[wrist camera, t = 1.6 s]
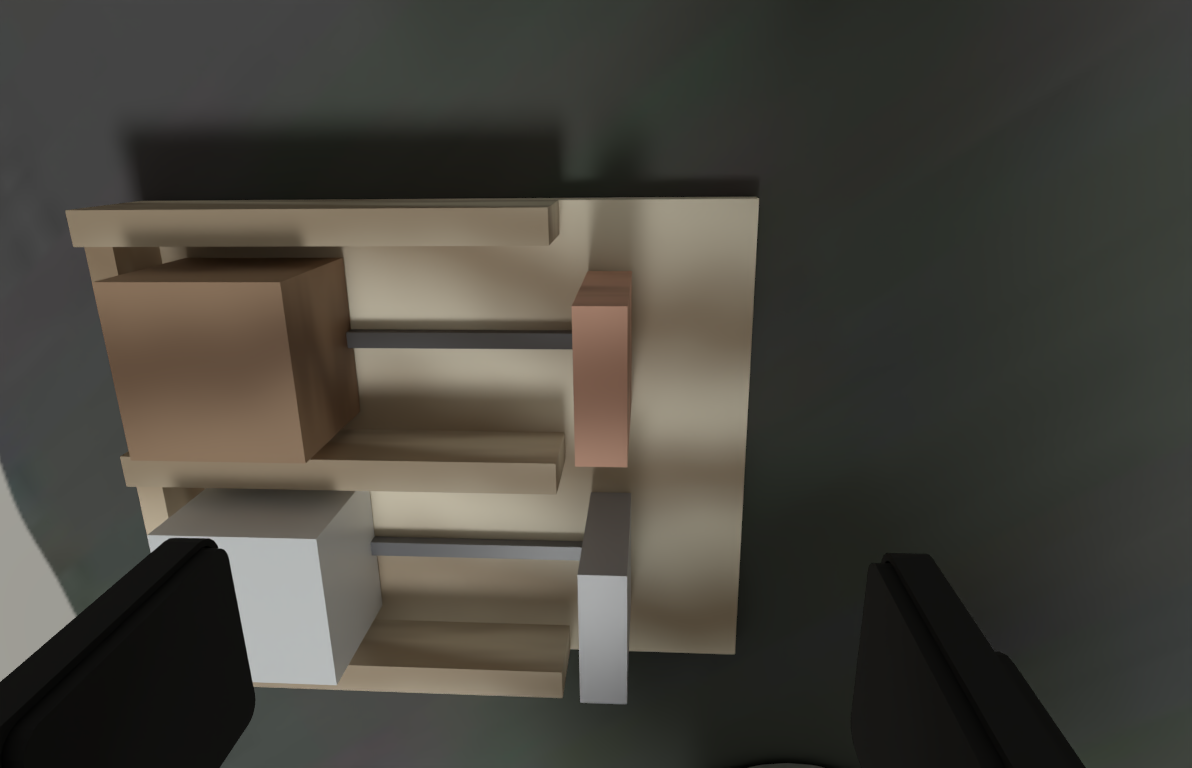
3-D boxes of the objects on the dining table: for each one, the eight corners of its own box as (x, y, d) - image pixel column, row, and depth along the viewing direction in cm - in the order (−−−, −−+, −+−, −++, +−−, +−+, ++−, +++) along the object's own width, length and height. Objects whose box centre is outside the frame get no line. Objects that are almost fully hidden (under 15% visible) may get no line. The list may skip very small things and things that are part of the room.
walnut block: (631, 414, 29) (627, 482, 23) (212, 409, 30) (110, 473, 24) (632, 257, 27) (627, 288, 21) (185, 258, 28) (68, 288, 23)
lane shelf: (732, 639, 33) (743, 704, 29) (222, 623, 35) (170, 683, 31) (755, 196, 27) (772, 205, 23) (142, 200, 29) (65, 210, 25)
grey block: (630, 612, 32) (626, 716, 26) (246, 601, 33) (162, 698, 27) (631, 481, 30) (627, 562, 24) (224, 474, 31) (128, 549, 25)
